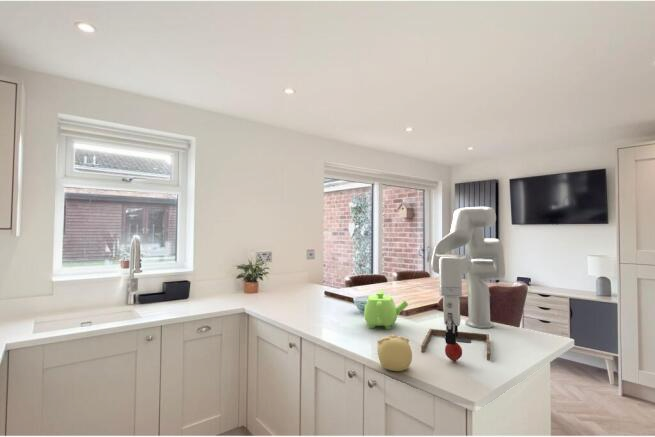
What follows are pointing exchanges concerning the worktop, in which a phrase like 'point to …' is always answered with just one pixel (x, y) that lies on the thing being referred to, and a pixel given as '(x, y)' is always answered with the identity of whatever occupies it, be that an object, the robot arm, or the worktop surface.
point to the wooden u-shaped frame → (457, 338)
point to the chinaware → (361, 302)
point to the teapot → (382, 310)
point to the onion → (453, 351)
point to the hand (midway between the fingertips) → (452, 339)
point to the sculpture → (394, 353)
